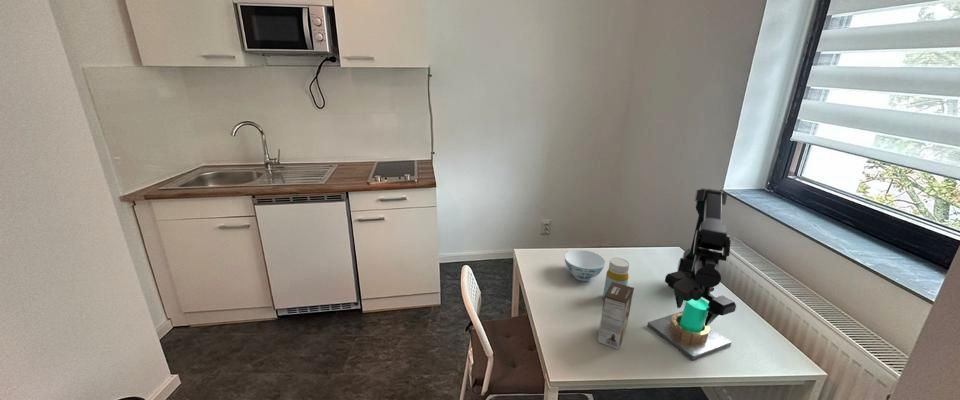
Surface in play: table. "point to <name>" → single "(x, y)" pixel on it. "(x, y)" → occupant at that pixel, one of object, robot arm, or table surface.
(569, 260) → the chinaware
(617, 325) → the coffee box
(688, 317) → the candle
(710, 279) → the robot arm
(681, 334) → the square plate with hole
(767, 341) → the table surface
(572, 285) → the table surface
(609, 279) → the bottle
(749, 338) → the table surface
